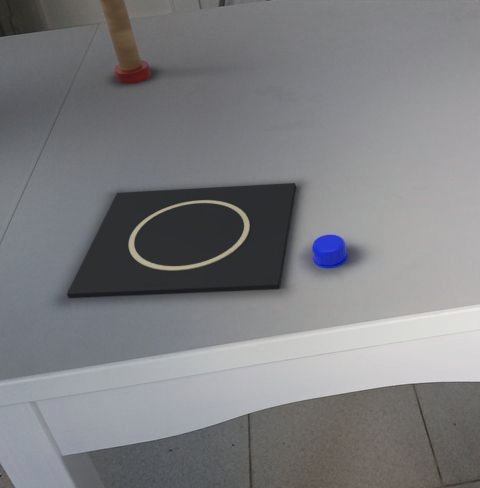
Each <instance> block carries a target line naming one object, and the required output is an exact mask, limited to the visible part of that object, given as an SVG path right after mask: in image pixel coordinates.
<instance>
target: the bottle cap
mask: <svg viewBox="0 0 480 488" xmlns="http://www.w3.org/2000/svg"><path fill="white" fill-rule="evenodd" d="M311 248H312V249H311V250H312V262H313V264H314V265H316V266H317V267H319V268H322V269H335V268H338V267H340V266H342V265H344V264H345V263H346V262H347V261H348V252H347V246H346V241H345V240H344V238H342V237H341V236H340V235H337V234H324V235H321V236H319V237H317V238H316V239H315V240H314V241H313V243H312V246H311Z"/></svg>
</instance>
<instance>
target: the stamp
mask: <svg viewBox="0 0 480 488" xmlns="http://www.w3.org/2000/svg"><path fill="white" fill-rule="evenodd" d="M99 2H100V5H101V8H102V13H103V16H104V18H105V22H106V25H107V28H108V29H107V30H108V33H109V35H110V39H111V42H112V45H113V49H114V52H115V56H116V60H117V62H118V64H117V65H116V66H115V67H114V69H113V71H114V74H115V78H116V79H117V80H116V81H117V82H118V83H120V84H123V85H131V84H132V85H133V84H138V83H141V82H144V81H146V80H148V79H149V78H151V76H152V72H151V69H150V65H149V63H148V61H146V60H144V59H142V58H141V56H140V52H139V49H138V46H137V41H136V37H135V34H134V30H133V26H132V24H131V20H130V16H129V13H128V10H127V5H126V1H125V0H99Z"/></svg>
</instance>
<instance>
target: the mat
mask: <svg viewBox="0 0 480 488" xmlns="http://www.w3.org/2000/svg"><path fill="white" fill-rule="evenodd" d="M296 185H297V184H296V182H288V183H287V182H286V183H268V184H267V183H266V184H251V185H249V184H248V185H233V186H215V187H199V188H180V189H179V188H177V189H165V190H164V189H160V190H145V191H143V190H142V191H125V192H117V193H116V194H115V196H114V198H113V200H112V201H111V203H110V206H109V208H108V210H107V212H106V214H105V216H104V218H103V220H102V222H101V224H100V226H99V228H98V230H97V232H96V234H95V236H94V238H93V240H92V241H91V244H90V246H89V248H88V250H87V252H86V254H85V257H84V258H83V260H82V262H81V264H80V266H79V268H78V270H77V272H76V274H75V276H74V278H73V280H72V283H71V284H70V286H69V289H68V290H67V292H66V296H67V298H68V299H79V298H101V297H102V298H103V297H122V296H125V297H126V296H127V297H128V296H148V295H151V296H152V295H169V294H170V295H172V294H195V293H215V292H217V293H219V292H239V291H240V292H243V291H265V290H267V291H268V290H279V289H280V288H281V282H282V275H283V271H284V263H285V256H286V250H287V244H288V239H289V232H290V226H291V220H292V213H293V207H294V200H295V195H296V188H297V186H296Z"/></svg>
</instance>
